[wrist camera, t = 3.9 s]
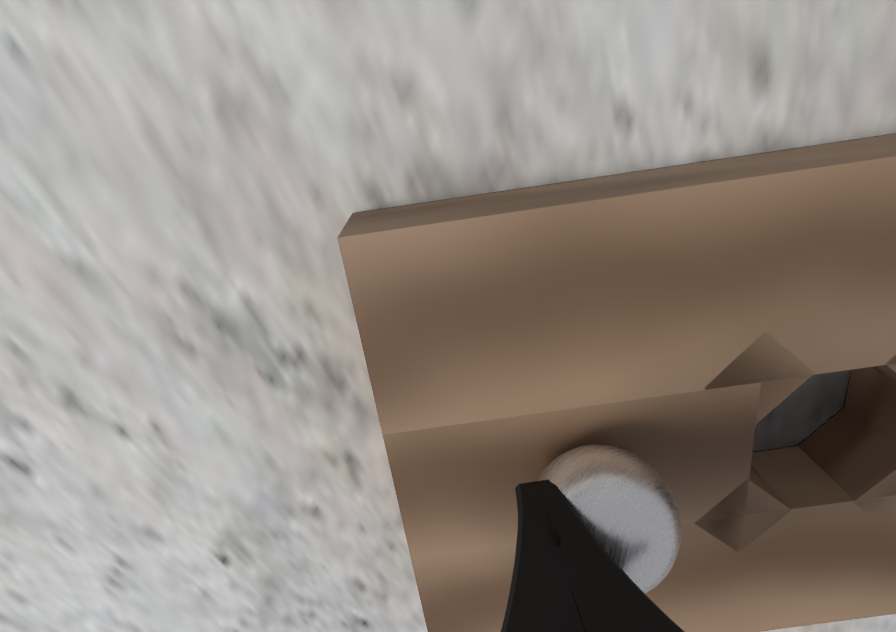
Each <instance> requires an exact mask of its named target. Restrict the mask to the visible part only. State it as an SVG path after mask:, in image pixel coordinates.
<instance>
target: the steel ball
mask: <svg viewBox="0 0 896 632" xmlns="http://www.w3.org/2000/svg"><path fill="white" fill-rule="evenodd" d="M541 480H549V481H550V482H552V483H553V484H555V485H556V486H557V487H558V489H559V490H560V491H561V492H562V493H563V494H564V496H565V497H566V498H567V499H568V501H569V502H570V504H571V505H572V507H573V508H574V510H575V511H576V513H577V514H578V515H579V517H580V518H581V520H582V521H583V522H584V524H585V525H586V526H587V528H588V529H589V530H590V531H591V533H592V534H593V535H594V536H595V538H596V539H597V540H598V541H599V543H600V544H601V545H602V546H603V548H604V549H605V550H606V551H607V553H608V554H609V555H610V556H611V557H612V558H613V560H614V561H615V562H616V563H617V564H618V565H619V566H620V568H621V569H622V570H623V571H624V572H625V573H626V574H627V575H628V576H629V578H630V579H631V580H632V581H633V582H634V583H635V584H636V585H637V586H638V587H639V588H640V589H641V590H642V591H643V592H644V593H647V592H649V591H650V590H652V589H653V588H655V587H656V586H657V585H658V584H659V583H660V582H661V581H662V580H663V579H664V578H665V577H666V576H667V574H668V573H669V572H670V570H671V568H672V567H673V565H674V563H675V560H676V558H677V555H678V552H679V548H680V541H681V522H680V515H679V511H678V508H677V504H676V501H675V499H674V497H673V495H672V492H671V491H670V489H669V487H668V485H667V484H666V482H665V481H664V480H663V478H662V477H661V476H660V475H659V474H658V472H657V471H656V470H655V469H654V468H653V467H652V466H650V465H649V464H648V463H647V462H646V461H644V460H643V459H641V458H640V457H638V456H637V455H635V454H633V453H631V452H629V451H626V450H624V449H621V448H618V447H613V446H608V445H585V446H580V447H577V448H574V449H571V450H569V451H566V452H565V453H563V454H561V455H559V456H558V457H556V458H555V459H554V460H553V461H552V462H551V463H550V464H549V465H548V466H547V467H546V468H545V469H544V470H543V471H542V473H541V474H540V476H539V478H538V479H537V481H541Z"/></svg>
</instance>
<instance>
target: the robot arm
mask: <svg viewBox="0 0 896 632" xmlns="http://www.w3.org/2000/svg"><path fill="white" fill-rule="evenodd" d="M515 493H516V501H517V509H518V531H517V542H516V553H515V562H514V568H513V575H512V581H511V587H510V593H509V598H508V603H507V608H506V612H505V617H504V621H503V625H502V629H501V632H684V631H683V630H682V629H681V628H680V627H679V626H678V625H677V624H676V623H675V622H673V621H672V620H671V619H670V618H669V617H668V616H667V615H666V614H665V613H664V612H663V611H662V610H661V609H660V608H659V607H658V606H657V605H656V604H655V603H654V602H653V601H652V600H651V599H649V597H648V596H647V595H646V594H645V593H644V592H643V591H642V590H641V589H640V588H639V587H638V586H637V585H636V584H635V583H634V582H633V581H632V580H631V579H630V578H629V576H628V575H627V574H626V573H625V572H624V571H623V570H622V569H621V568H620V566H619V565H618V564H617V563H616V562H615V561H614V560H613V558H612V557H611V556H610V555H609V554H608V553H607V551H606V550H605V549H604V548H603V546H602V545H601V544H600V543H599V541H598V540H597V539H596V538H595V536H594V535H593V534H592V533H591V531H590V530H589V529H588V528H587V526H586V525H585V524H584V522H583V521H582V520H581V518H580V517H579V515H578V514H577V513H576V511H575V510H574V508H573V507H572V505H571V504H570V502H569V501H568V499H567V498H566V497H565V496H564V494H563V493H562V492H561V491H560V490H559V489H558V487H557V486H556V485H555V484H553V483H552V482H550V481H549V480H541V481H535V482H528V483H521V484H518V485H517V486H516V487H515Z"/></svg>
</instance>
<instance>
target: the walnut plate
mask: <svg viewBox="0 0 896 632" xmlns="http://www.w3.org/2000/svg"><path fill="white" fill-rule="evenodd" d="M338 242H339V246H340V251H341V255H342V259H343V264H344V268H345V272H346V277H347V281H348V285H349V290H350V294H351V298H352V303H353V307H354V312H355V316H356V320H357V325H358V329H359V333H360V338H361V342H362V346H363V351H364V355H365V360H366V364H367V368H368V373H369V377H370V381H371V386H372V390H373V394H374V399H375V403H376V407H377V412H378V416H379V421H380V425H381V429H382V434H383V438H384V442H385V447H386V451H387V455H388V460H389V464H390V468H391V473H392V477H393V482H394V486H395V490H396V495H397V499H398V503H399V508H400V512H401V516H402V521H403V525H404V530H405V534H406V538H407V543H408V547H409V551H410V556H411V560H412V564H413V569H414V573H415V577H416V582H417V586H418V591H419V595H420V599H421V604H422V608H423V612H424V617H425V621H426V625H427V630H428V632H501V629H502V625H503V621H504V617H505V612H506V608H507V603H508V598H509V593H510V587H511V581H512V575H513V568H514V562H515V553H516V542H517V531H518V509H517V501H516V493H515V487H516V486H517V485H518V484H521V483H528V482H535V481H537V479H538V478H539V476H540V474H541V473H542V471H543V470H544V469H545V468H546V467H547V466H548V465H549V464H550V463H551V462H552V461H553V460H554V459H555V458H556V457H558V456H559V455H561V454H563V453H565V452H566V451H569V450H571V449H574V448H577V447H580V446H585V445H608V446H613V447H618V448H621V449H624V450H626V451H629V452H631V453H633V454H635V455H637V456H638V457H640V458H641V459H643V460H644V461H646V462H647V463H648V464H649V465H650V466H652V467H653V468H654V469H655V470H656V471H657V472H658V474H659V475H660V476H661V477H662V478H663V480H664V481H665V482H666V484H667V485H668V487H669V489H670V491H671V492H672V495H673V497H674V499H675V501H676V504H677V508H678V511H679V515H680V522H681V541H680V548H679V552H678V555H677V558H676V560H675V563H674V565H673V567H672V568H671V570H670V572H669V573H668V574H667V576H666V577H665V578H664V579H663V580H662V581H661V582H660V583H659V584H658V585H657V586H656V587H655V588H653V589H652V590H650V591H649V592H647V593H645V594H646V595H647V596H648V597H649V599H651V600H652V601H653V602H654V603H655V604H656V605H657V606H658V607H659V608H660V609H661V610H662V611H663V612H664V613H665V614H666V615H667V616H668V617H669V618H670V619H671V620H672V621H673V622H675V623H676V624H677V625H678V626H679V627H680V628H681V629H682V630H683V631H684V632H759V631H767V630H774V629H782V628H790V627H797V626H805V625H813V624H820V623H828V622H836V621H844V620H851V619H859V618H867V617H874V616H882V615H890V614H896V134H889V135H882V136H875V137H869V138H862V139H855V140H848V141H841V142H835V143H828V144H821V145H814V146H807V147H801V148H794V149H787V150H780V151H773V152H766V153H760V154H753V155H746V156H739V157H732V158H726V159H719V160H712V161H705V162H698V163H692V164H685V165H678V166H671V167H664V168H658V169H651V170H644V171H637V172H630V173H623V174H617V175H610V176H603V177H596V178H589V179H583V180H576V181H569V182H562V183H555V184H549V185H542V186H535V187H528V188H521V189H514V190H508V191H501V192H494V193H487V194H480V195H474V196H467V197H460V198H453V199H446V200H440V201H433V202H426V203H419V204H412V205H406V206H399V207H392V208H385V209H378V210H371V211H365V212H358V213H352V215H351V217H350V218H349V220H348V222H347V223H346V225H345V226H344V228H343V230H342V231H341V233H340V235H339V236H338ZM845 370H851V375H850V380H849V385H848V390H847V395H846V400H845V405H844V408H843V409H842V410H840V411H839V412H838V413H837V414H836V415H834V416H833V417H832V418H831V419H830V420H828V421H827V422H826V423H825V424H824V425H822V426H821V427H820V428H819V429H818V430H816V431H815V432H814V433H813V434H812V435H810V436H809V437H808V438H807V439H806V440H804V441H803V442H802V443H801V444H800V445H798V446H795V447H787V448H780V449H773V450H765V451H758V452H753V444H754V435H755V427H756V424H757V423H758V422H760V421H761V420H762V419H763V418H764V417H765V416H766V415H768V414H769V413H770V412H771V411H772V410H773V409H774V408H776V407H777V406H778V405H779V404H780V403H781V402H782V401H784V400H785V399H786V398H787V397H788V396H789V395H790V394H792V393H793V392H794V391H795V390H796V389H797V388H798V387H800V386H801V385H802V384H803V383H804V382H805V381H807V380H808V379H809V378H810V377H811V376H812V375H817V374H824V373H831V372H838V371H845Z"/></svg>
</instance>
